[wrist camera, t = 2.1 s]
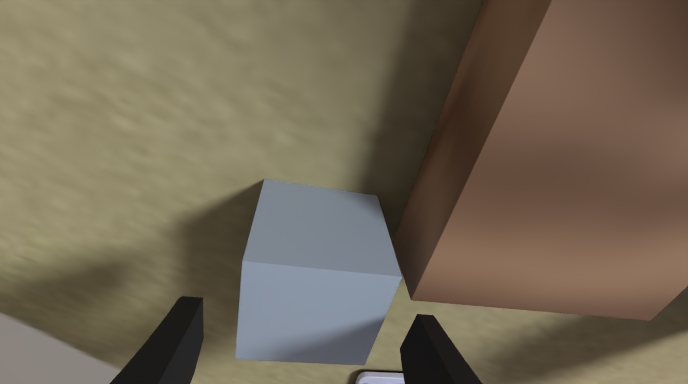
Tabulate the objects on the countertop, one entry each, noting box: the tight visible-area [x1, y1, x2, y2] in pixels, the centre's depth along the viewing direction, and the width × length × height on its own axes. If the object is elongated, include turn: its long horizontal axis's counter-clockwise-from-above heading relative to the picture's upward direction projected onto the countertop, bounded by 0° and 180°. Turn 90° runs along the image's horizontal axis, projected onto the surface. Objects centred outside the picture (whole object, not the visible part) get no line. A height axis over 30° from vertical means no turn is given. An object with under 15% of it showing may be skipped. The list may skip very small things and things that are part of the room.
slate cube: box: [235, 179, 402, 365], centre depth 13 cm, size 5×5×5 cm
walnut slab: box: [393, 0, 688, 321], centre depth 13 cm, size 12×12×4 cm
